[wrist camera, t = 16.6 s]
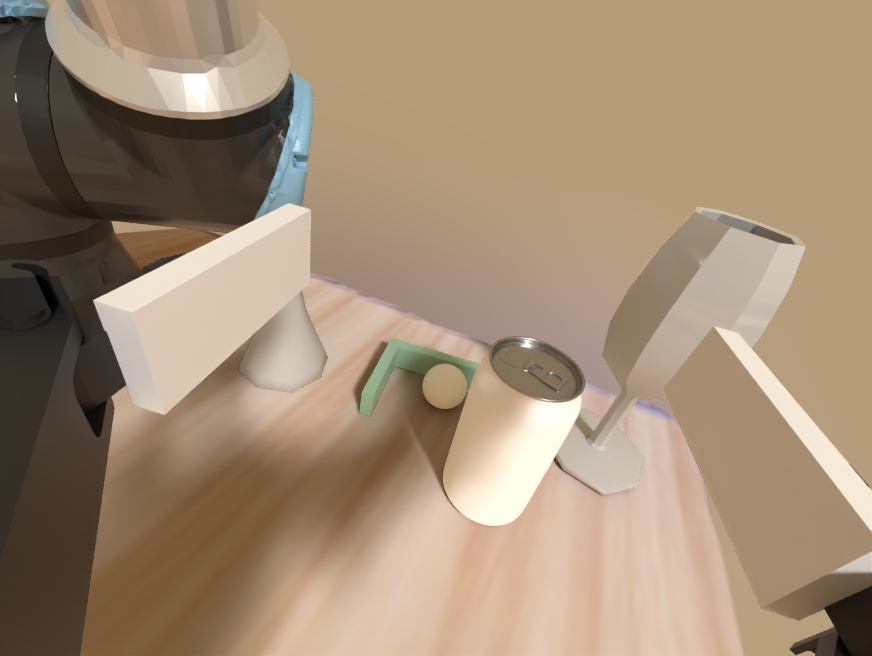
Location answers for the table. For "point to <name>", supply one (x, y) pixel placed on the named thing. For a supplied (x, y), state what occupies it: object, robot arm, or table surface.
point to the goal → (407, 368)
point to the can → (511, 428)
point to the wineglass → (679, 327)
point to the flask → (285, 350)
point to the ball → (444, 386)
